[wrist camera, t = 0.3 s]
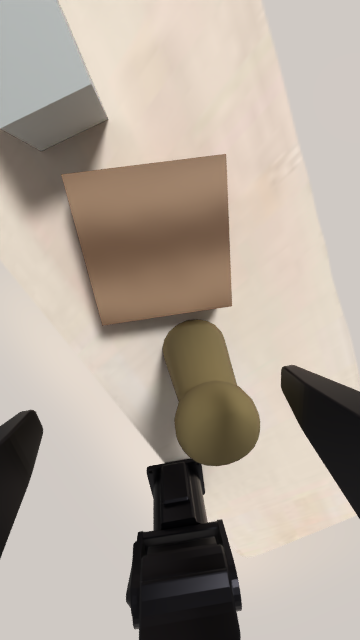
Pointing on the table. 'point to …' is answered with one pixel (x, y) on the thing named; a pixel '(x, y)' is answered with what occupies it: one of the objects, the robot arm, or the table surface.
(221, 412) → the olive game pawn
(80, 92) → the slate cube
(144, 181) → the walnut block
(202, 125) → the table surface
